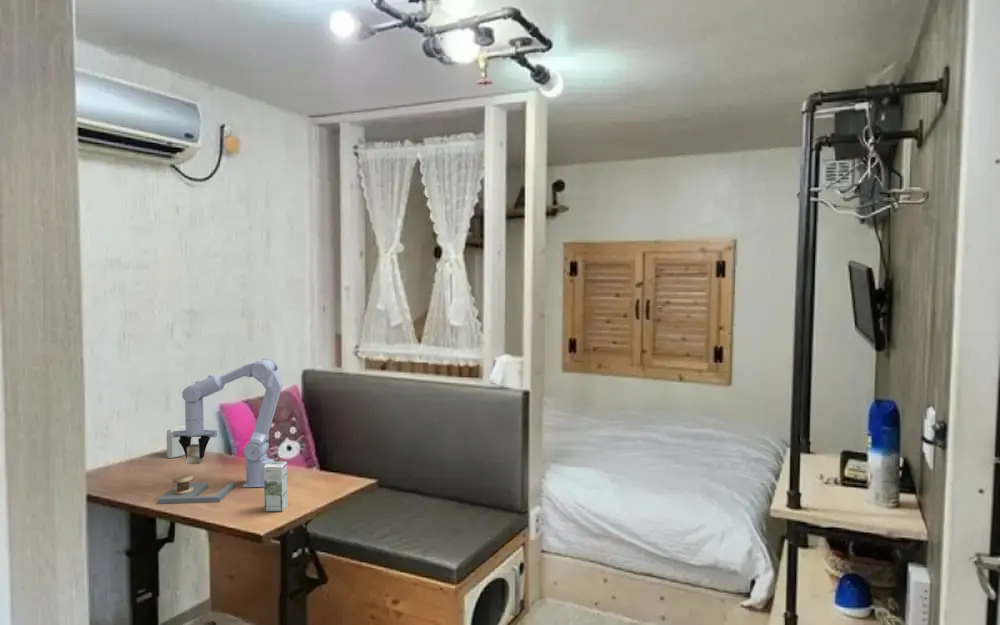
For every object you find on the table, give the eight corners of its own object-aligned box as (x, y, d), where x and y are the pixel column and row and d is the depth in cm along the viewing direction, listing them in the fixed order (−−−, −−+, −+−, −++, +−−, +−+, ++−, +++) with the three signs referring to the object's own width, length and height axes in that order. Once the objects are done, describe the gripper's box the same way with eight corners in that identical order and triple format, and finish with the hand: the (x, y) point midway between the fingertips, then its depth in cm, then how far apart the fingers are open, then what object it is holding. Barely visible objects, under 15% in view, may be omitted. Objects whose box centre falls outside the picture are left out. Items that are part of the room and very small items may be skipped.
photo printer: (189, 452, 271) (188, 422, 271) (195, 453, 269) (194, 424, 268) (165, 457, 263) (164, 427, 262) (171, 459, 260) (170, 428, 260)
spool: (196, 488, 219) (196, 474, 219) (189, 494, 213) (188, 480, 213) (177, 488, 219) (176, 475, 219) (169, 495, 212) (168, 481, 212)
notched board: (235, 486, 226) (235, 482, 226) (219, 502, 210) (219, 497, 210) (178, 487, 224) (178, 483, 224) (158, 503, 209) (158, 499, 208)
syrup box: (288, 505, 207) (287, 460, 206) (282, 512, 201) (281, 466, 200) (270, 505, 207) (269, 460, 206) (263, 512, 201) (263, 466, 200)
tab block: (203, 460, 229) (203, 444, 228) (199, 464, 225) (198, 447, 225) (191, 461, 228) (191, 444, 228) (187, 464, 224) (186, 447, 224)
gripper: (219, 416, 230) (220, 454, 231) (177, 416, 229) (178, 454, 230) (212, 420, 223) (213, 459, 224) (169, 421, 222) (169, 460, 223)
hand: (195, 457), depth 227 cm, fingers closed on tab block, 4 cm apart
